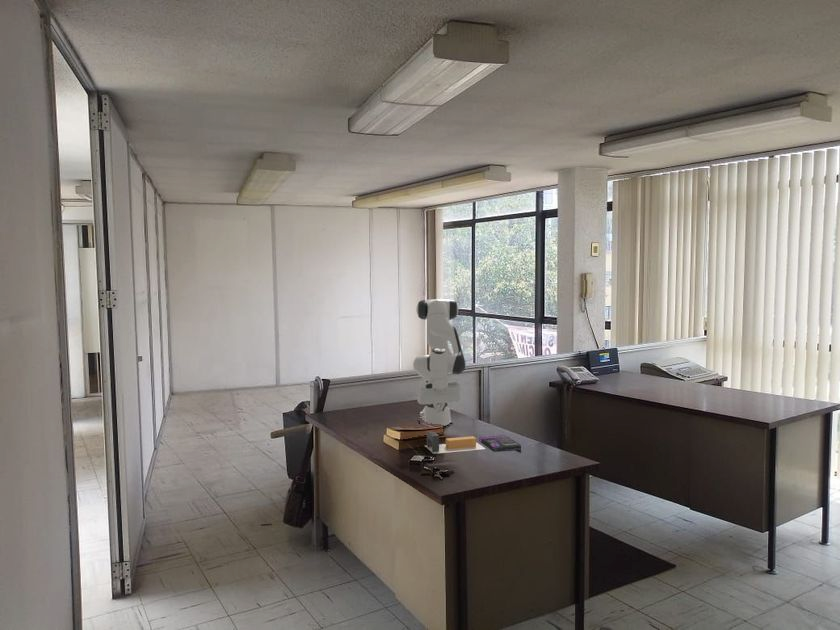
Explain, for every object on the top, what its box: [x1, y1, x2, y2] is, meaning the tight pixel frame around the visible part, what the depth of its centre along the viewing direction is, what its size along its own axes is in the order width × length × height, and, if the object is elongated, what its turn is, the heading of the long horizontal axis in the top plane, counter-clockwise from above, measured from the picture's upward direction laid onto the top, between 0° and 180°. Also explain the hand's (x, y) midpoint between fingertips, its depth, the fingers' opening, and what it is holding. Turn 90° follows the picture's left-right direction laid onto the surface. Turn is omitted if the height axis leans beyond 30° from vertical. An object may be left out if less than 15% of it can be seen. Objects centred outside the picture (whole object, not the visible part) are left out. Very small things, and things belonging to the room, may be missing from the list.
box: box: [478, 434, 522, 452], centre depth 296 cm, size 14×4×20 cm
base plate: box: [424, 441, 486, 454], centre depth 291 cm, size 14×26×1 cm, turn 107°
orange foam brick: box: [445, 435, 477, 449], centre depth 292 cm, size 4×14×4 cm, turn 107°
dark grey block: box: [426, 430, 440, 452], centre depth 288 cm, size 10×3×7 cm, turn 17°
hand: (438, 412), depth 288 cm, fingers closed
